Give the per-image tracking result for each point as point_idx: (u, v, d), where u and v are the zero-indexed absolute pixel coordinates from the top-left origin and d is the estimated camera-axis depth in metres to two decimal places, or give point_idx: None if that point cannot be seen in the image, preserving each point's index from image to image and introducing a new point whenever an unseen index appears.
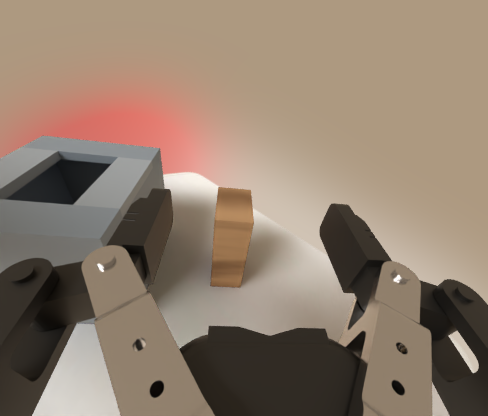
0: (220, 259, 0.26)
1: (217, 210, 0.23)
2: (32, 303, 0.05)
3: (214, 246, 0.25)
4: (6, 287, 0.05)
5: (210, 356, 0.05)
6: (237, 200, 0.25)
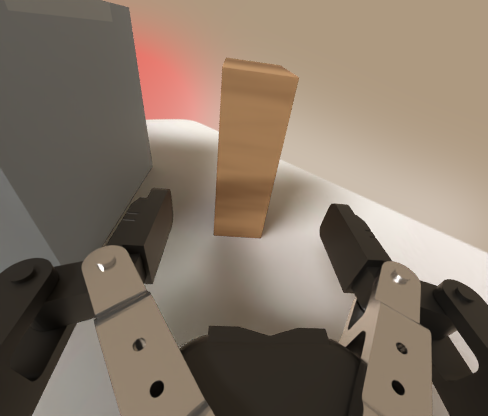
0: (230, 175, 0.15)
1: (226, 64, 0.12)
2: (33, 303, 0.05)
3: (221, 143, 0.14)
4: (6, 287, 0.05)
5: (210, 356, 0.05)
6: (260, 65, 0.14)
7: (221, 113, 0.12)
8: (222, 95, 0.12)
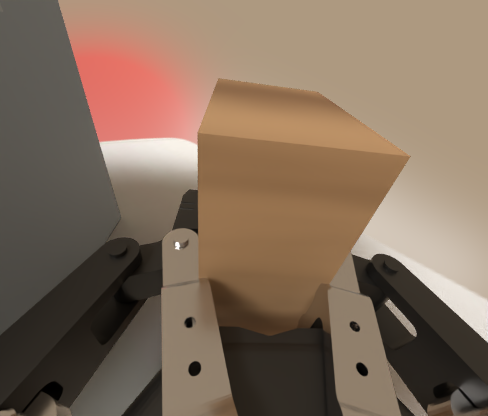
0: (225, 311, 0.08)
1: (214, 110, 0.05)
2: (118, 279, 0.06)
3: (204, 273, 0.06)
4: (104, 258, 0.06)
5: None
6: (287, 101, 0.07)
7: (201, 227, 0.05)
8: (202, 194, 0.05)
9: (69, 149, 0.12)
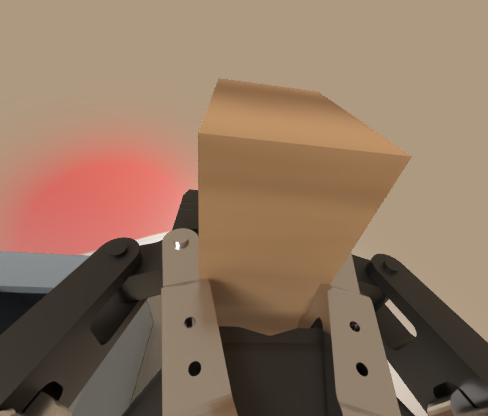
0: (225, 312, 0.08)
1: (215, 110, 0.05)
2: (118, 279, 0.06)
3: (204, 273, 0.06)
4: (105, 258, 0.06)
5: None
6: (287, 101, 0.07)
7: (202, 227, 0.05)
8: (202, 195, 0.05)
9: (136, 318, 0.24)
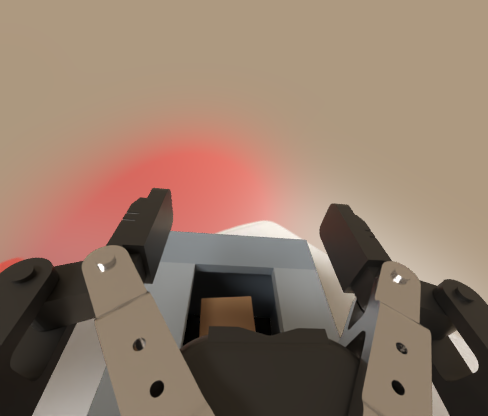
0: None
1: None
2: (33, 303, 0.05)
3: None
4: (6, 287, 0.05)
5: (210, 356, 0.05)
6: None
7: None
8: None
9: None
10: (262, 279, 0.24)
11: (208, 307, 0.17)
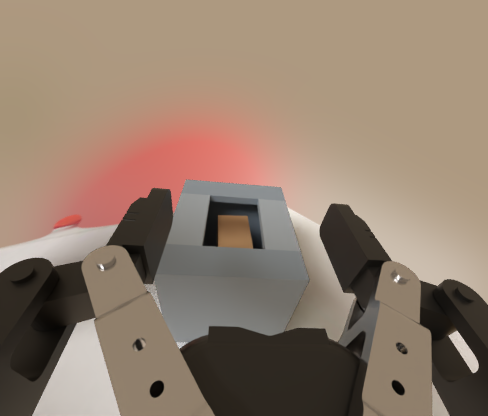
0: None
1: (219, 239, 0.26)
2: (33, 303, 0.05)
3: None
4: (6, 287, 0.05)
5: (210, 356, 0.05)
6: (236, 228, 0.28)
7: None
8: None
9: None
10: (253, 217, 0.35)
11: (222, 218, 0.29)
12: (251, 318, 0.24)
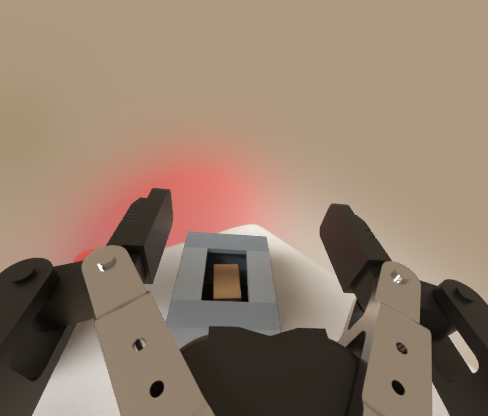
0: None
1: (214, 288, 0.33)
2: (33, 303, 0.05)
3: None
4: (6, 287, 0.05)
5: (210, 356, 0.05)
6: (228, 277, 0.35)
7: None
8: None
9: None
10: (243, 259, 0.42)
11: (217, 268, 0.36)
12: None
